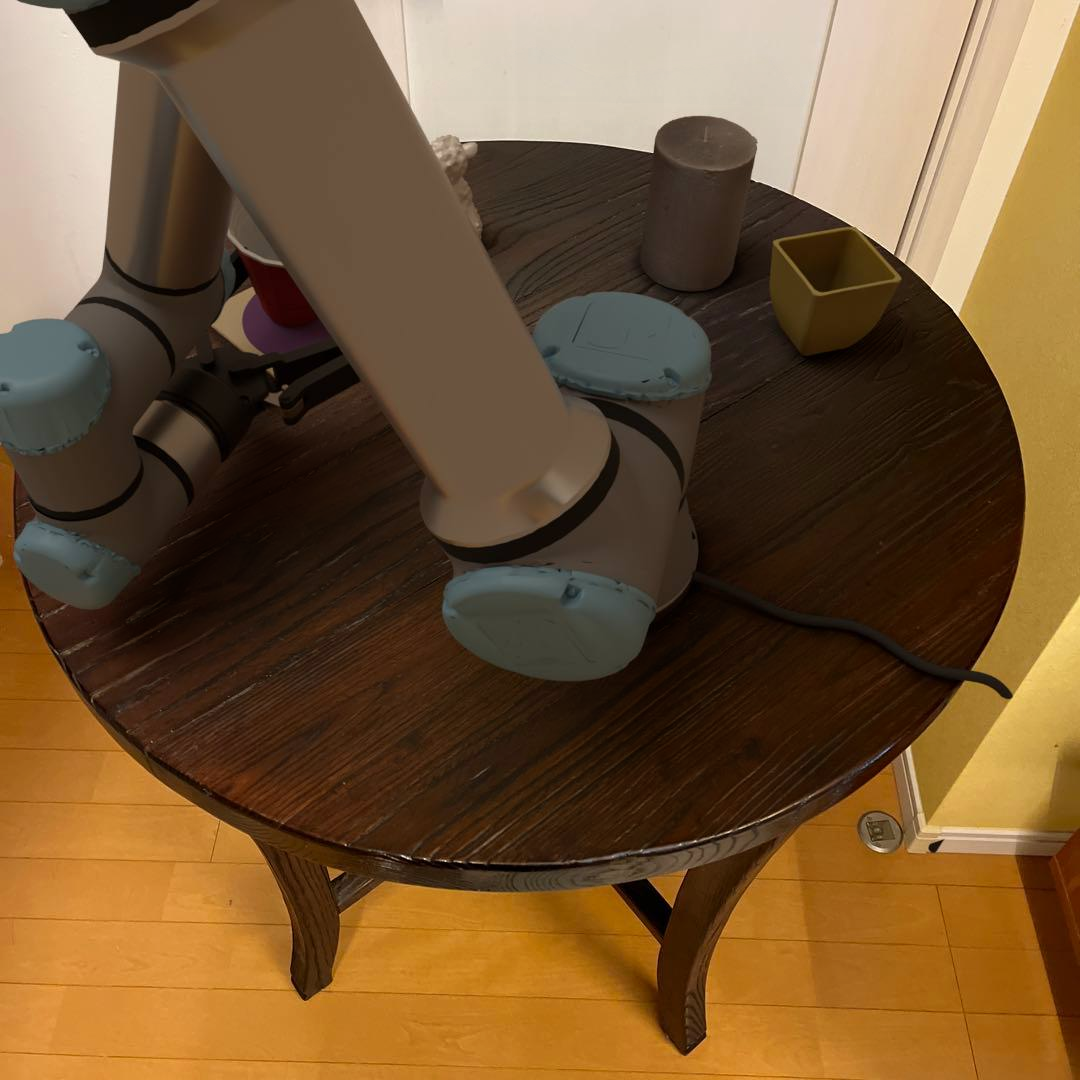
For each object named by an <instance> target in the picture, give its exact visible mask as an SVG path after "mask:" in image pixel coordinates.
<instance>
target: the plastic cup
mask: <svg viewBox="0 0 1080 1080" xmlns="http://www.w3.org/2000/svg"><path fill="white" fill-rule="evenodd" d="M227 239H228V240H229V241H230V242H231V243H232V244H233V245H234V247H235V250H236V249H237V250H238V253H239V256H240V257H241V258H242V261H243V263H244V266H245V268H246V271H247V273H248V276H249V277H248V279H249V280H250V283H251V285H252V286H251V287H253V288H254V291H255V293H256V294H257V295H258V298H259V300H260V303H261V305H262V308H263V310H264V311H265V312H266V314H267V315H268V316H269V317H270V318H271V319H272V320H273V321H274V322H276V323H279V324H281V325H283V326H291V327H298V326H303V325H307V324H309V323H310V322H312V321H314V320H315V319H317V317H318V316H317V314H316V313H315V311H314V310H313V308H312V307H311V305H310V304H309V302H308V301H307V300H306V298H305V297H304V295H303V294H302V292H301V291H300V289H299V288H298V286H297V285H296V283H295V282H294V280H293V279H292V277H291V276H290V274H289V273H288V271H287V270H286V268H285V267H284V265H283V264H282V262H281V261H280V260H279V258H278V257H277V255H276V254H275V252H274V251H273V249H272V248H271V246H270V245H269V243H268V242H267V240H266V239H265V237H264V236H263V234H262V233H261V231H260V230H259V228H258V227H257V225H256V224H255V222H254V221H253V219H252V218H251V217H250V215H249V214H248V212H247V211H246V209H245V208H244V206H243V205H242V203H241V202H240V200H239V199H238V197H237V196H236V195H235V200H234V205H233V210H232V215H231V219H230V224H229V229H228V234H227ZM243 246H244V247H247V249H248V250H246V249H245V248H244V247H243Z"/></svg>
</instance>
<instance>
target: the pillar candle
mask: <svg viewBox="0 0 1080 1080" xmlns="http://www.w3.org/2000/svg"><path fill="white" fill-rule="evenodd" d="M758 143H759V142H758V139H757V138H756V136H754V135H752V134H751V132H749V131H748V130H747V129H746V128H745V127H743V126H742V125H740V124H738V123H736V122H733V121H731V120H728V119H726V118H723V117H716V116H711V115H689V116H682V117H678V118H675V119H672V120H670V121H667V122H666V123H664V124H663V125H662V126H661V127H659V129H658V130H657V132H656V135H655V137H654V145H653V153H652V158H651V159H652V161H651V169H650V178H649V186H648V193H647V200H646V208H645V215H644V223H643V230H642V237H641V238H642V239H641V246H640V256H639V261H640V262H639V263H640V267H641V269H642V270H643V272H644V273H645V274H646V275H647V277H648V278H649V279H651V281H653V282H654V283H656V284H658V285H661V286H663V287H665V288H668V289H671V290H675V291H681V292H704V291H709V290H711V289H715V288H718V287H720V286H721V285H722V284H723V283H724V282H725V281H726V280H727V279H728V278H729V277H730V276H731V274H732V272H733V270H734V264H735V261H736V256H737V250H738V247H739V240H740V236H741V231H742V227H743V226H742V225H743V221H744V215H745V210H746V206H747V202H748V201H747V200H748V196H749V195H748V194H749V191H750V185H751V180H752V174H753V171H754V165H755V158H756V155H757V151H758V145H757V144H758Z"/></svg>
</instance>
